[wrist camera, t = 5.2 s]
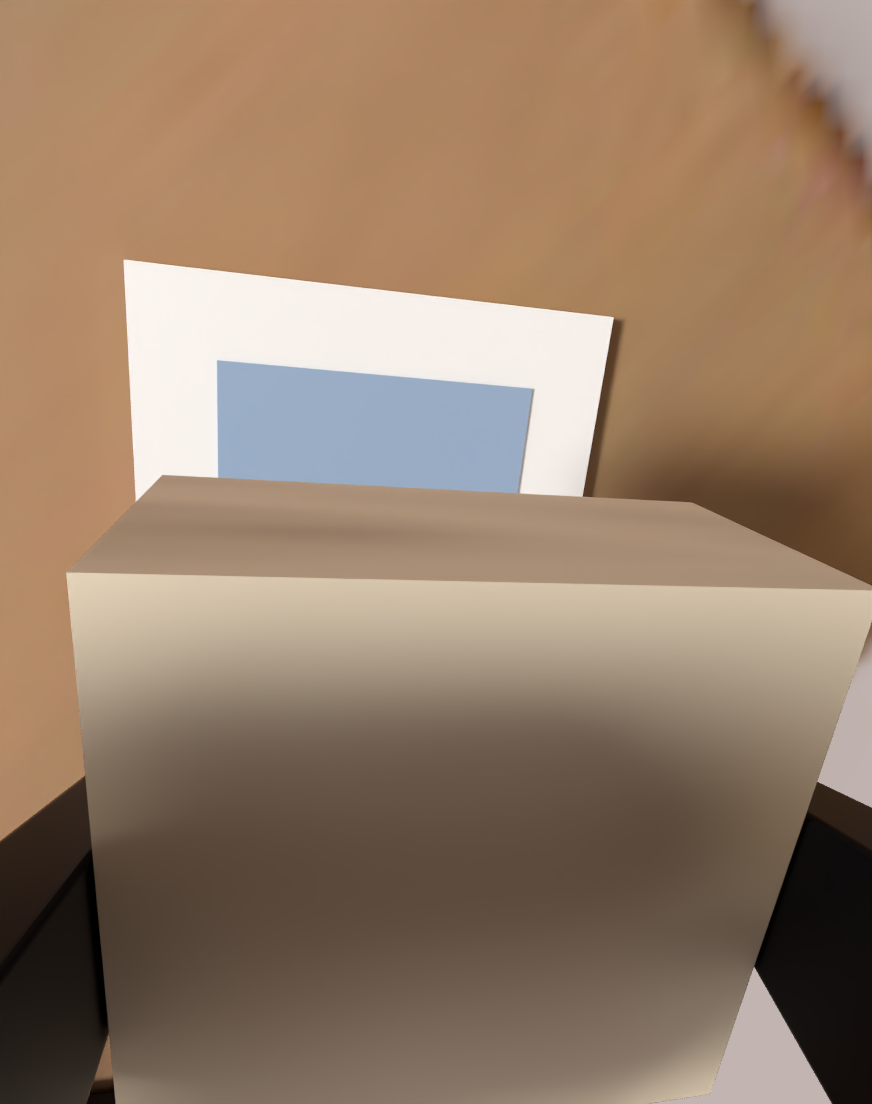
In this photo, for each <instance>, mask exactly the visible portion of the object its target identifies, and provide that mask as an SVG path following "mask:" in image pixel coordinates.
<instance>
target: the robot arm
mask: <svg viewBox="0 0 872 1104" xmlns="http://www.w3.org/2000/svg"><path fill="white" fill-rule="evenodd" d="M754 967H755V969H756V971H757V972H758V974H759V976H760V978H761V979H762V981H763V983H764V985H765V987H766V988H767V990H768V992H769V994H770V995H771V997H772V999H773V1001H774V1002H775V1004H776V1006H777V1008H778V1009H779V1011H780V1013H781V1015H782V1017H783V1018H784V1020H785V1022H786V1023H787V1025H788V1027H789V1029H790V1030H791V1032H792V1034H793V1036H794V1038H795V1039H796V1041H797V1043H798V1044H799V1047H800V1048H801V1050H802V1052H803V1054H804V1055H805V1057H806V1059H807V1061H808V1062H809V1064H810V1066H811V1068H812V1069H813V1071H814V1073H815V1075H816V1076H817V1078H818V1080H819V1082H820V1084H821V1085H822V1087H823V1089H824V1091H825V1092H826V1094H827V1096H828V1098H829V1099H830V1101H831V1103H832V1104H872V808H871V807H869V806H867V805H865V804H863V803H861V802H858V801H856V800H854V799H852V798H850V797H848V796H846V795H844V794H842V793H840V792H837V791H835V790H833V789H831V788H829V787H827V786H825V785H823V784H820V783H819V782H817V783H816V786H815V789H814V792H813V795H812V798H811V801H810V804H809V807H808V810H807V813H806V816H805V819H804V821H803V824H802V827H801V830H800V833H799V836H798V839H797V842H796V845H795V848H794V851H793V854H792V857H791V859H790V862H789V865H788V868H787V871H786V874H785V877H784V880H783V883H782V886H781V889H780V892H779V895H778V897H777V900H776V903H775V906H774V909H773V912H772V915H771V918H770V921H769V924H768V927H767V930H766V933H765V936H764V938H763V941H762V944H761V947H760V950H759V953H758V956H757V959H756V962H755V965H754ZM108 1034H109V1026H108V1015H107V1005H106V994H105V983H104V972H103V961H102V951H101V940H100V929H99V918H98V908H97V897H96V886H95V875H94V865H93V854H92V843H91V832H90V822H89V811H88V800H87V789H86V779H85V776H84V777H83V778H81V779H80V780H79V781H77V782H76V783H75V784H74V785H72V786H71V787H70V788H68V789H67V790H66V791H64V792H63V793H62V794H61V795H59V796H58V797H57V798H55V799H54V800H53V801H51V802H50V803H49V804H48V805H46V806H45V807H44V808H42V809H41V810H40V811H39V812H37V813H36V814H35V815H33V816H32V817H31V818H29V819H28V820H27V821H26V822H24V823H23V824H22V825H20V826H19V827H18V828H16V829H15V830H14V831H13V832H11V833H10V834H9V835H7V836H6V837H5V838H3V839H2V840H1V841H0V1104H116V1101H115V1092H110V1093H102V1094H95V1095H89V1094H90V1091H91V1087H92V1084H93V1081H94V1078H95V1075H96V1072H97V1069H98V1066H99V1062H100V1059H101V1056H102V1053H103V1050H104V1047H105V1044H106V1040H107V1037H108Z"/></svg>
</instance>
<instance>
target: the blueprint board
mask: <svg viewBox="0 0 872 1104" xmlns="http://www.w3.org/2000/svg"><path fill="white" fill-rule="evenodd" d="M124 276H125V296H126V315H127V335H128V354H129V374H130V394H131V413H132V433H133V452H134V472H135V492H136V501H137V500H138V499H139V498H140V497H141V496H142V495H143V494H144V493H145V492H146V491H147V490H148V489H149V488H150V487H151V486H152V485H153V484H154V483H155V482H156V481H157V480H158V479H159V478H160V477H161V476H162V475H175V476H195V477H214V478H233V479H252V480H271V481H290V482H310V483H329V484H348V485H367V486H386V487H406V488H425V489H444V490H463V491H482V492H501V493H521V494H540V495H559V496H578V497H582V496H583V491H584V485H585V479H586V473H587V468H588V462H589V456H590V451H591V445H592V439H593V433H594V428H595V422H596V416H597V411H598V405H599V399H600V393H601V388H602V382H603V376H604V371H605V365H606V359H607V353H608V348H609V342H610V336H611V330H612V325H613V319H614V317H606V316H598V315H589V314H581V313H572V312H564V311H555V310H547V309H538V308H530V307H521V306H513V305H504V304H496V303H487V302H479V301H470V300H462V299H454V298H445V297H437V296H428V295H420V294H411V293H403V292H394V291H386V290H377V289H369V288H360V287H352V286H343V285H335V284H326V283H318V282H309V281H301V280H292V279H284V278H275V277H267V276H258V275H250V274H241V273H233V272H224V271H216V270H207V269H199V268H190V267H182V266H173V265H165V264H156V263H148V262H139V261H131V260H124Z"/></svg>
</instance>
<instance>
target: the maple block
mask: <svg viewBox="0 0 872 1104" xmlns="http://www.w3.org/2000/svg"><path fill="white" fill-rule="evenodd" d="M66 574H67V585H68V596H69V606H70V617H71V628H72V639H73V649H74V660H75V671H76V682H77V692H78V703H79V714H80V725H81V735H82V746H83V757H84V768H85V779H86V789H87V800H88V811H89V822H90V832H91V843H92V854H93V865H94V875H95V886H96V897H97V908H98V918H99V929H100V940H101V951H102V961H103V972H104V983H105V994H106V1005H107V1015H108V1026H109V1037H110V1048H111V1058H112V1069H113V1080H114V1091H115V1101H116V1104H650V1103H657V1102H663V1101H670V1100H676V1099H682V1098H689V1097H695V1096H701V1095H707V1094H710V1093H711V1091H712V1087H713V1085H714V1082H715V1079H716V1076H717V1073H718V1070H719V1067H720V1064H721V1061H722V1058H723V1055H724V1053H725V1049H726V1047H727V1043H728V1041H729V1038H730V1035H731V1032H732V1029H733V1026H734V1023H735V1020H736V1017H737V1014H738V1012H739V1008H740V1006H741V1003H742V1000H743V997H744V994H745V991H746V988H747V985H748V982H749V979H750V976H751V974H752V970H753V968H754V965H755V962H756V959H757V956H758V953H759V950H760V947H761V944H762V941H763V938H764V936H765V933H766V930H767V927H768V924H769V921H770V918H771V915H772V912H773V909H774V906H775V903H776V900H777V897H778V895H779V892H780V889H781V886H782V883H783V880H784V877H785V874H786V871H787V868H788V865H789V862H790V859H791V857H792V854H793V851H794V848H795V845H796V842H797V839H798V836H799V833H800V830H801V827H802V824H803V821H804V819H805V816H806V813H807V810H808V807H809V804H810V801H811V798H812V795H813V792H814V789H815V786H816V783H817V780H818V778H819V774H820V772H821V769H822V766H823V763H824V760H825V757H826V754H827V751H828V748H829V745H830V742H831V739H832V737H833V734H834V731H835V728H836V725H837V722H838V719H839V716H840V713H841V710H842V707H843V704H844V702H845V699H846V696H847V693H848V690H849V687H850V684H851V681H852V678H853V675H854V672H855V669H856V666H857V663H858V661H859V658H860V655H861V652H862V649H863V646H864V643H865V640H866V637H867V634H868V631H869V628H870V625H871V623H872V586H871V585H869V584H867V583H865V582H863V581H860V580H858V579H856V578H854V577H852V576H850V575H848V574H845V573H843V572H841V571H839V570H837V569H835V568H832V567H830V566H828V565H826V564H824V563H822V562H819V561H817V560H815V559H813V558H811V557H809V556H807V555H804V554H802V553H800V552H798V551H796V550H794V549H791V548H789V547H787V546H785V545H783V544H781V543H778V542H776V541H774V540H772V539H770V538H768V537H766V536H763V535H761V534H759V533H757V532H755V531H753V530H750V529H748V528H746V527H744V526H742V525H740V524H738V523H735V522H733V521H731V520H729V519H727V518H725V517H722V516H720V515H718V514H716V513H714V512H712V511H709V510H707V509H705V508H703V507H701V506H699V505H697V504H694V503H692V502H674V501H655V500H636V499H616V498H597V497H578V496H559V495H540V494H521V493H501V492H482V491H463V490H444V489H425V488H406V487H386V486H367V485H348V484H329V483H310V482H290V481H271V480H252V479H233V478H214V477H195V476H175V475H162V476H161V477H160V478H159V479H158V480H157V481H156V482H155V483H154V484H153V485H152V486H151V487H150V488H149V489H148V490H147V491H146V492H145V493H144V494H143V495H142V496H141V497H140V498H139V499H138V500H137V501H136V502H135V503H134V504H133V505H132V506H131V507H130V508H129V509H128V510H127V511H126V512H125V513H124V514H123V515H122V516H121V517H120V518H119V520H118V521H117V522H116V523H115V524H114V525H113V526H112V527H111V528H110V529H109V530H108V531H107V532H106V533H105V534H104V535H103V536H102V537H101V538H100V539H99V540H98V541H97V542H96V543H95V544H94V545H93V546H92V547H91V548H90V549H89V550H88V551H87V552H86V553H85V554H84V555H83V556H82V557H81V558H80V559H79V560H78V561H77V562H76V563H75V564H74V565H73V566H72V567H71V568H70V569H69V570H68V571H67V572H66Z"/></svg>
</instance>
